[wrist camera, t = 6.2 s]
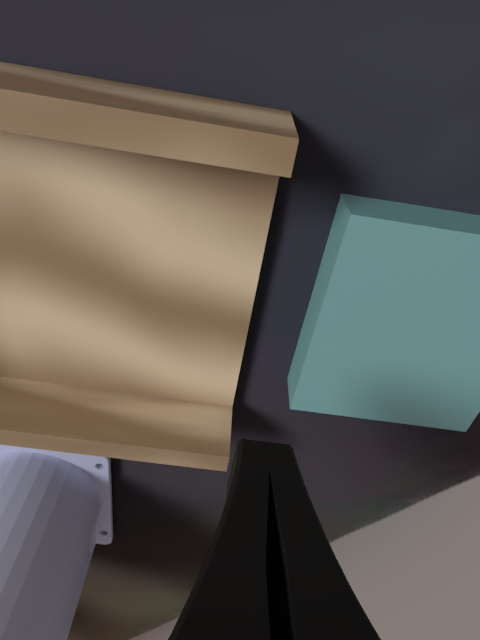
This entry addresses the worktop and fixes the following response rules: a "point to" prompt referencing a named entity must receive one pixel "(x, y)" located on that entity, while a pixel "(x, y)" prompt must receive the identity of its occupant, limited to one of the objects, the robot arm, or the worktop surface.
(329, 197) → the worktop surface
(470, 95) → the worktop surface
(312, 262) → the worktop surface
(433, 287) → the cover plate
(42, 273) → the pine box
